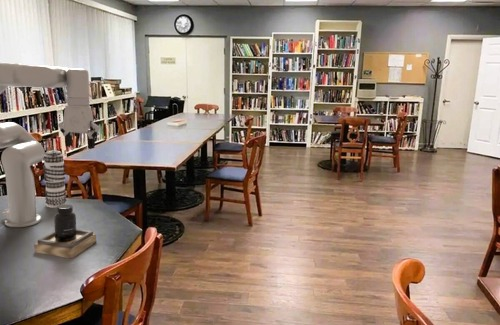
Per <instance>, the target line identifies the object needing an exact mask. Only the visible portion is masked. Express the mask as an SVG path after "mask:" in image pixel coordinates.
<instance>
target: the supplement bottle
mask: <svg viewBox="0 0 500 325" xmlns="http://www.w3.org/2000/svg"><path fill="white" fill-rule="evenodd" d="M73 207H74V206H73V205H72V204H67V203H66V204H65V205H59V206H58V207H56V214H55V215H54V231H55V240H56V241H58V242H69V241H72V240H74V239H75V238H76V229H77V214H76V213H74V210H73V209H74V208H73Z"/></svg>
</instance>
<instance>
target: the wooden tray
mask: <svg viewBox="0 0 500 325" xmlns="http://www.w3.org/2000/svg"><path fill="white" fill-rule="evenodd" d="M96 242H97V233H94V231H91V230H86V229H78V228H76V238H75V239H74V240H72V241H69V242H58V241H56V240H55V230H53V231H52V232H50V233H48V234H46V235H45V236H43V237H40V238H39V239H38V240H37V242H35V243H34V244H33V245H34V253H37V254H42V255H49V256H54V257H55V256H56V257H62V258H67V259H73V258H75V257H76V256H77V255H79V254H80V253H81V252H83V251H85V250H86V249H87V248H89V247H91V246H92V245H93V244H95V243H96Z"/></svg>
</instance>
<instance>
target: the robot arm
mask: <svg viewBox="0 0 500 325" xmlns="http://www.w3.org/2000/svg"><path fill="white" fill-rule="evenodd" d="M89 76H90V75H89V71H88V70H86V69H85V68H77V67H75V68H70V67H69V68H68V67H63V66H54V65H53V66H52V65H51V66H50V65H32V64H31V65H30V64H29V65H28V64H22V63H20V62H18V63H17V62H0V95H2V94H3V93H4V92H5V90H6V89H7V88H9V87H15V88H17V87H19V88H24V87H26V88H28V87H29V88H46V89H47V88H48V89H50V88H51V89H52V88H66V97H65V99H64V101H65V102H66V104H67V105H65V107H64V114H63V121H61V122H59V123H58V124H57V126H58V127H59V129H60V131H59V132H61V133H62V135H63V136H64V143H65V147H72V146H73V135H72V134H86V135H87V137H88V138H87V148H88V150H93V149H95V146H96V138H97V137H98V136H99V134H100V132H101V129H102V128H101V126H99V125H98V124H96V123H95V122H94V121H95V120H94V115H93V110H92V106H90V84H89V83H90V81H89V80H90V79H89ZM94 129H95V130H94ZM0 149H1V150H2V149H4V150H3V151H2V153H1V157H0V160H1V163H2V168H3V171H4V174H5V183H6V184H5V186H6V195H7V207H8V208H5V209H4V210H3V211H2V212H1V216H6V219H5V220H4V225H5V226H7V227H10V228H26V227H31V226H33V225H36V224H39V223H40V222H41V221H42V216H41V215H40V214H37V203H36V202H37V199H36V186H35V177H34V173H33V172H32V168H31V166H33V165H36V164H39V163H40V162H42V160H44V159H45V158H44V156H45V153H46V152H45V149H44V147H43V145H42V144H41V143H40V142H39V141H38V140H37V139H36V138H35V137H34V136H33V135H32V134H31V133H30V132H28V130H26V129H25V127H23V126H21V125H20V124H18V123H16V122H11V121H7V122H0Z"/></svg>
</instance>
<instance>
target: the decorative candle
mask: <svg viewBox="0 0 500 325" xmlns="http://www.w3.org/2000/svg"><path fill="white" fill-rule="evenodd" d="M43 159H44V162H43V163H44V165H43V167H42V169H43V171H42V172H43V173H44V174H43V180H44V182H45V191H44V193H45V195H44V196H45V198H44V199H45V203H46V204H45V206H46V207H47V208H53V209H54V208H55V209H57V207H58V206H59V205H65V204H67V189H66V185H65V181H66V177H65V175H66V169H65V168H66V167H67V166H66V165H65V164H66V162H64V153H63V152H61V151H60V150H47V151H46V152H45V156H44V158H43Z"/></svg>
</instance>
